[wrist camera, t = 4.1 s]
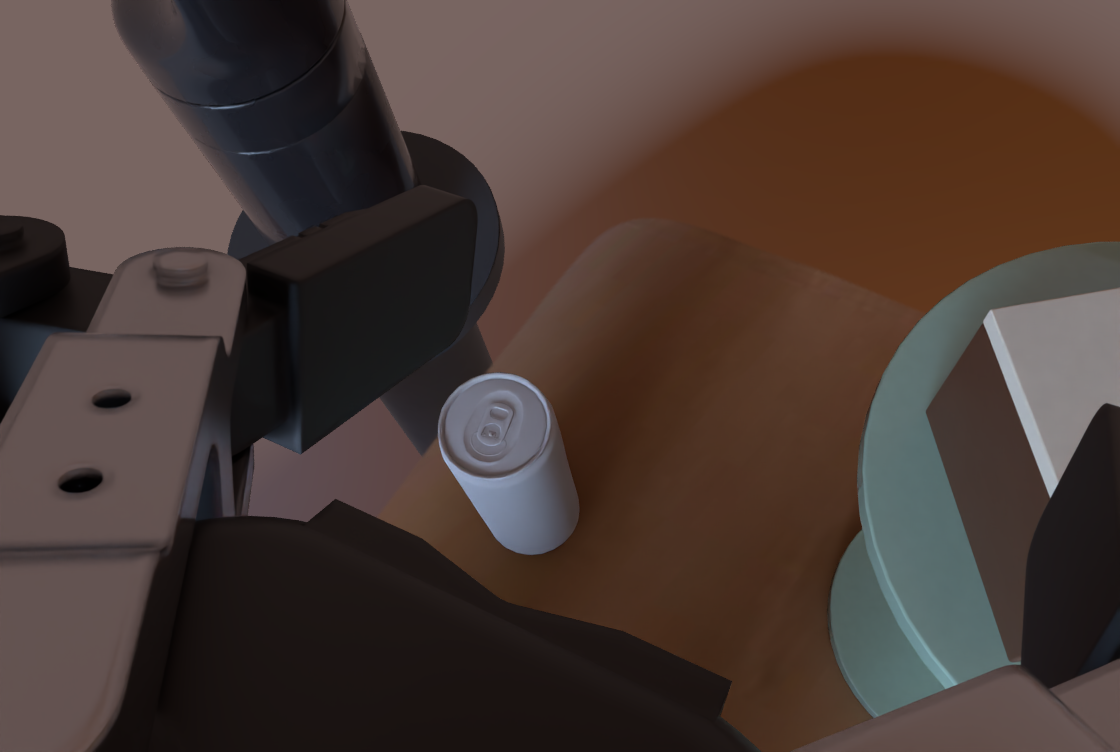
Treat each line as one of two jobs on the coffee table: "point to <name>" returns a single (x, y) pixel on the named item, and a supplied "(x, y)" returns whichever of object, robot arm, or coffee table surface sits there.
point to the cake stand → (930, 502)
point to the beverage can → (510, 461)
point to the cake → (1022, 428)
